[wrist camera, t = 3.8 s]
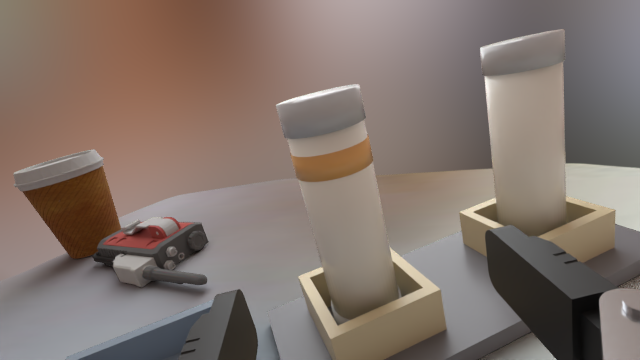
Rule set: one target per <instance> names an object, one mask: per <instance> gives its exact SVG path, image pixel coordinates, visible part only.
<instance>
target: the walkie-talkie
mask: <svg viewBox="0 0 640 360" xmlns="http://www.w3.org/2000/svg"><path fill="white" fill-rule="evenodd" d="M207 242H208V240H207V237H206V234H205V232H204V229H203V226H202V224H201V223H196V222H178V221H177V220H176V219H174V218H172V217H164V218H162V217H151V218H150V219H148V220H146V221H144V222H140V221H139V219H138V220H136V221H134V222H132V223H130V224H129V225H127V226H125V227H123V228H121V230H119V231H117V232H115V233H113V234H111V235H109V236H108V237H106V238H104V239H102V240H101V241H100V242H99V244H98V247H97V250H98V252H96V253H95V254H94V255H93V256H92V257H93V258H94V261H95V262H102V263H104V264H105V265H107V266H109V265H110V266H113V268H114V270H115V272H116V274H117V276H118V278H119V280H120V282H124V283H129V284H134V285H137V286H138V287H143V286H145V285H146V284H147V283H149V282H150V281H156V280H160V281H166V282H172V283H178V284H183V283H188V284H195V285H203V284H206V283H207V277H206V276H205V275H201V274H194V273H186V272H179V271H172V270H173V269H174V268H175V265H177V264H178V263H180V262H181V261H182V260H184V259H185V258H186V257H188V256H189V255H191V254H192V253H193V252H195V251H197V250H201V249H202V248H203V247H204V245H205V244H206V243H207Z"/></svg>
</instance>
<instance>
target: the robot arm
mask: <svg viewBox="0 0 640 360" xmlns="http://www.w3.org/2000/svg"><path fill="white" fill-rule="evenodd" d="M485 242H486V252H487V262H488V272H489V277H490V280H491V282H492V284H493V286H494V288H495V290H496V291H497V293H498V294H499V295H500V296H501V297H502V298H503V299H504V300H505V302H506V303H507V304H508V305H509V306H510V307H511V308H512V310H513V311H514V312H515V313H516V314H517V315H518V316H519V317H520V319H521V320H522V321H523V322H524V323H525V324H526V325H527V326H528V328H529V329H530V330H531V331H532V332H533V333H534V334H535V336H536V337H537V338H538V339H539V340H540V341H541V342H542V343H543V345H544V346H545V347H546V348H547V349H548V350H549V351H550V352H551V354H552V355H553V356H554V357H555V358H556V359H557V360H640V290H639V289H630V288H618V287H617V286H615V285H614V284H613V283H611V282H610V281H608V280H607V279H605V278H604V277H602V276H601V275H599V274H598V273H596V272H595V271H594V270H592V269H591V268H589V267H588V266H586V265H585V264H583V263H582V262H580V261H579V262H578V261H577V259H576V258H575V257H573V256H572V255H570V254H569V253H566V251H564V250H563V249H562V248H560V247H559V246H557V245H556V244H554V243H553V242H551V241H548V240H545V239H542V238H539V237H536V236H531V237H528V236H527V235H526V234H524V233H523V232H522V231H520V230H519V229H518V228H516V227H515V226H513V225H507V226H503V227H499V228H494V229H490V230H487V231H486V233H485ZM185 342H186V344H184V346H183V348H182V350H181V355H180V356H179V358H178V360H256V355H257V347H258V340H257V333H256V328H255V325H254V323H253V320H252V317H251V314H250V312H249V309H248V306H247V303H246V301H245V298H244V295H243V293H242V291H241V290H239V289H238V290H234V291H230V292H226V293H222V294H217V295H216V296H215V298H214V301H213V303H212V306H211V309H210V312H209V313H207V314H202V315H201V317H200V318H199V319H198V320H197V321H196V322H195V324H194V325H193V326H192V327H191V329H190V331H189V334H188V336H187V338H186V341H185Z"/></svg>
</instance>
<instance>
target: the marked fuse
mask: <svg viewBox="0 0 640 360" xmlns="http://www.w3.org/2000/svg"><path fill="white" fill-rule="evenodd" d="M276 108H277V112H278V115H279V119H280V122H281V126H282V130H283V133H284V137H285V138H287V140H288V144H289V147H290V151H291V153H290V155H291V158H292V162H293V166H294V169H295V173H296V177H297V179H298V180H299V184H300V188H301V191H302V195H303V198H304V202H305V206H306V209H307V213H308V217H309V220H310V224H311V228H312V231H313V235H314V239H315V242H316V246H317V250H318V253H319V257H320V260H321V264H322V268H323V271H324V275H325V279H326V282H327V286H328V290H329V293H330V297H331V307H332V311H333V315H334V318H335V322H336V324H337V325H338V326H339V325H341V324H343V323H345V322H348V321H350V320H352V319H354V318H357V317H359V316H361V315H363V314H366V313H368V312H370V311H372V310H374V309H377V308H379V307H381V306H383V305H386V304H388V303H390V302H392V301H395V300H397V299H399V298H401V297H402V296H401V291H400V289H399V287H398V285H397V281H396V276H395V271H394V266H393V261H392V256H391V251H390V246H389V241H388V236H387V231H386V226H385V221H384V216H383V211H382V206H381V201H380V196H379V191H378V186H377V181H376V176H375V171H374V166H373V156H372V151H371V146H370V142H369V136H368V134H367V132H366V127H365V122H364V119H365V118H366V116H365V111H364V106H363V101H362V96H361V91H360V86H359V85H358V84H356V85H347V86H342V87H337V88H332V89H327V90H323V91H319V92H315V93H311V94H307V95H304V96H300V97H297V98H293V99H290V100H287V101H284V102H282V103H279V104H277V105H276Z"/></svg>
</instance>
